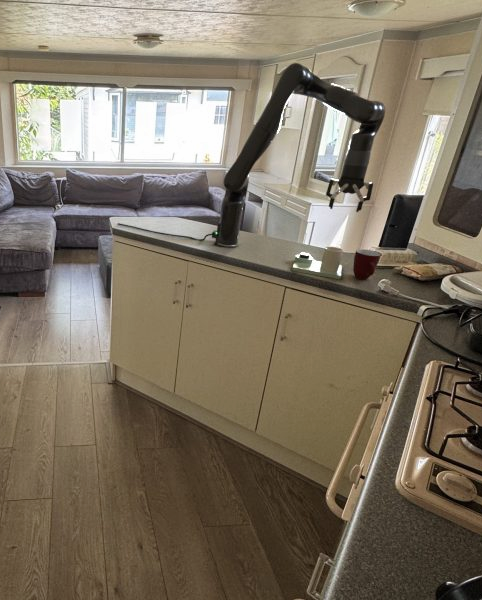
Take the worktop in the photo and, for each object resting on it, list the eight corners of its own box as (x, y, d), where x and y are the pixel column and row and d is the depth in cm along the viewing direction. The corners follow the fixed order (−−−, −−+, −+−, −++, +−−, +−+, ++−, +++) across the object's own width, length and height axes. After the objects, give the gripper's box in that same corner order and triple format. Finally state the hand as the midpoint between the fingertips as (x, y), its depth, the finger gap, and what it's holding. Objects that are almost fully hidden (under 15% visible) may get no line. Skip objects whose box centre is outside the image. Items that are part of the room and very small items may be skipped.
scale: (291, 270, 166) (292, 263, 165) (295, 260, 178) (296, 253, 176) (340, 279, 159) (342, 271, 158) (341, 268, 171) (343, 261, 169)
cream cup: (319, 269, 164) (324, 249, 161) (320, 265, 169) (325, 245, 166) (337, 272, 161) (343, 252, 158) (338, 268, 166) (343, 248, 163)
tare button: (299, 258, 172) (300, 254, 171) (299, 256, 175) (300, 251, 174) (308, 260, 170) (309, 255, 170) (309, 257, 173) (310, 253, 173)
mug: (381, 284, 155) (390, 258, 151) (360, 284, 155) (368, 258, 151) (364, 274, 165) (372, 249, 161) (344, 274, 164) (351, 249, 160)
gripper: (378, 164, 149) (365, 211, 156) (333, 161, 155) (323, 205, 162) (379, 166, 143) (366, 214, 150) (333, 162, 149) (322, 209, 156)
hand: (343, 210), depth 156 cm, fingers open, 8 cm apart
